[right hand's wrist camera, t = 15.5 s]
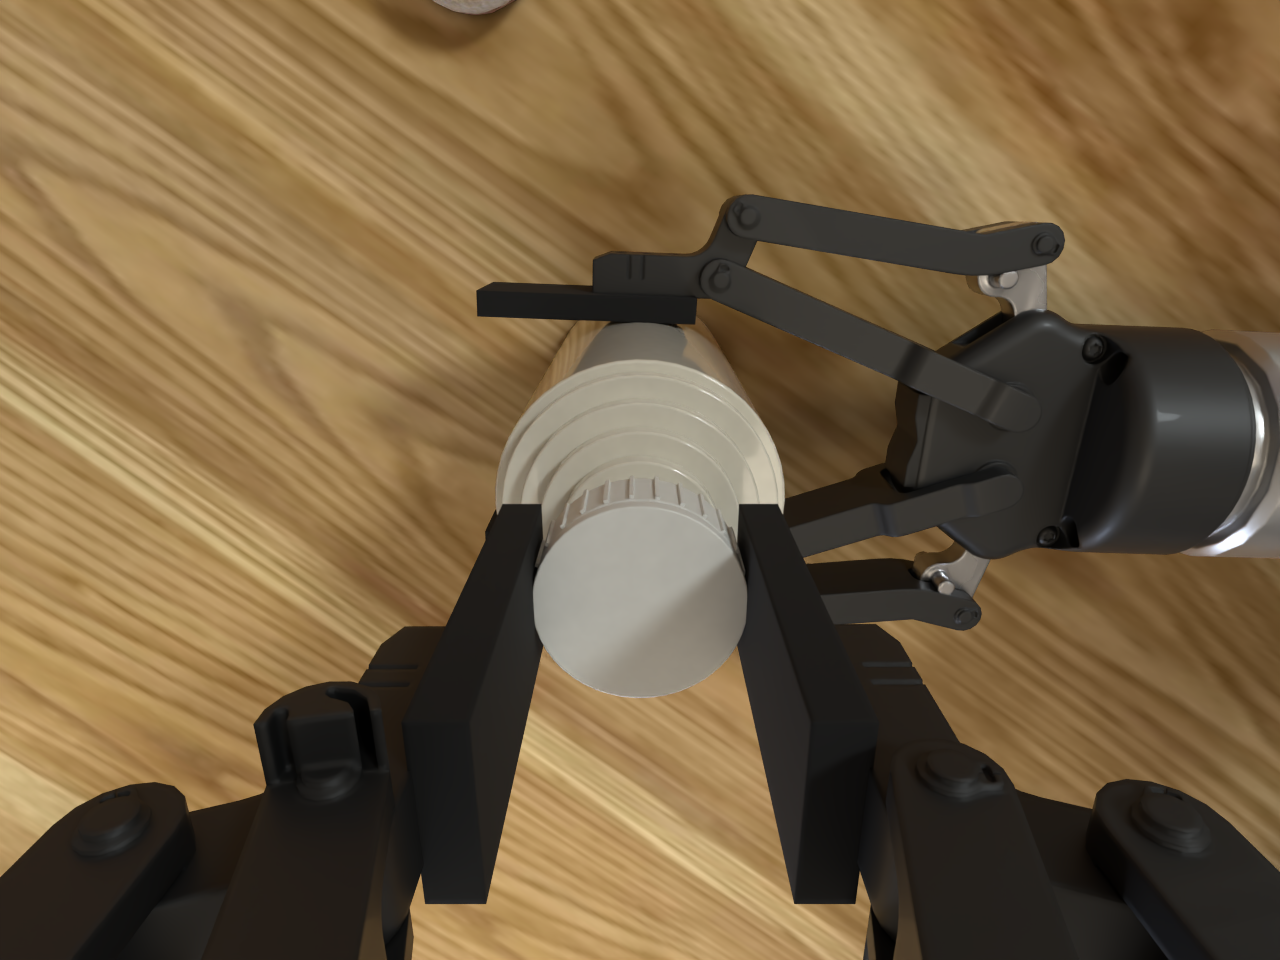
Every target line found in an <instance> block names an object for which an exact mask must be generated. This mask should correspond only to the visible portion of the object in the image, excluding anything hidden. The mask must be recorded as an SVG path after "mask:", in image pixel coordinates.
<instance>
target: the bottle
mask: <svg viewBox="0 0 1280 960" xmlns="http://www.w3.org/2000/svg"><path fill="white" fill-rule="evenodd" d="M630 476H634V479H636V478H646V479H654V477H659V480H661V481H666V482H670V483H673V484H676V485H677V484H678V482H679V483H682V485H683V487H684V488H686V489H688V490H690V491H692V492H694V493H695V494H697V495H699V494H700V493H701V494H702V495H703V496H704V500H706V501H707V502H708V503H709V504H710V505H711V506H712V507H713V508H714V509H715V510H716V509H717V508H719V510H720V511H721V514H722V518H723V519H724V521H725V523H726V524H727V526H728V527H731V526H732V528H733V531H734V534H735V538H736V541H737V534H738V514H739V504H778V505H779V507H780V510H781V512H782V514H783V512H784V504H785V482H784V476H783V470H782V464H781V461H780V458H779V455H778V452H777V449H776V446H775V444H774V442H773V440H772V438H771V436H770V434H769V432H768V430H767V428H766V426H765V424H764V423H763V421H762V419H761V417H760V416H759V414H758V412H757V411H756V409H755V407H754V405H753V404H752V402H751V400H750V398H749V397H748V395H747V393H746V391H745V390H744V388H743V386H742V385H741V383H740V381H739V379H738V378H737V376H736V374H735V372H734V371H733V369H732V367H731V365H730V364H729V362H728V360H727V358H726V357H725V355H724V353H723V352H722V350H721V348H720V346H719V345H718V343H717V341H716V339H715V338H714V336H713V335H712V333H711V332H710V330H709V329H708V327H707V326H706V325H705V324H704V323H703V322H702V320H701V319H700V318H698V317H697V316H696V323H695V325H689V324H663V323H640V322H611V321H585V320H579V321H578V322H577V323H576V324H575V325H574V326H573V328H572V329H571V330H570V331H569V333H568V335H567V337H566V338H565V340H564V342H563V343H562V345H561V347H560V349H559V350H558V352H557V354H556V355H555V357H554V359H553V361H552V362H551V364H550V366H549V368H548V369H547V371H546V373H545V375H544V376H543V378H542V380H541V382H540V383H539V385H538V387H537V388H536V390H535V392H534V394H533V395H532V397H531V399H530V401H529V402H528V404H527V406H526V408H525V409H524V411H523V413H522V415H521V416H520V418H519V420H518V422H517V423H516V425H515V427H514V428H513V430H512V432H511V434H510V435H509V437H508V440H507V442H506V445H505V447H504V449H503V452H502V455H501V458H500V462H499V466H498V470H497V477H496V486H495V501H496V511H497V515H498V513H499V511H500V508H501V506H502V504H542V524H543V540H546V537H547V534H548V530H549V527H550V523H551V521H552V520H554V521H556V520H557V518H558V517H559V516H560V514H561V513H562V512H563V510H564V507H565V504H567V503H569V504H571V503H572V502H574V501H575V500H576V499H577V498H579V497H580V496H582V495H583V491H584V490H586V489H588V491H590V490H592V489H594V488H597V487H599V486H601V485H604V484H605V481H607V480H610V482H614V481H618V480H625V479H630Z"/></svg>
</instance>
